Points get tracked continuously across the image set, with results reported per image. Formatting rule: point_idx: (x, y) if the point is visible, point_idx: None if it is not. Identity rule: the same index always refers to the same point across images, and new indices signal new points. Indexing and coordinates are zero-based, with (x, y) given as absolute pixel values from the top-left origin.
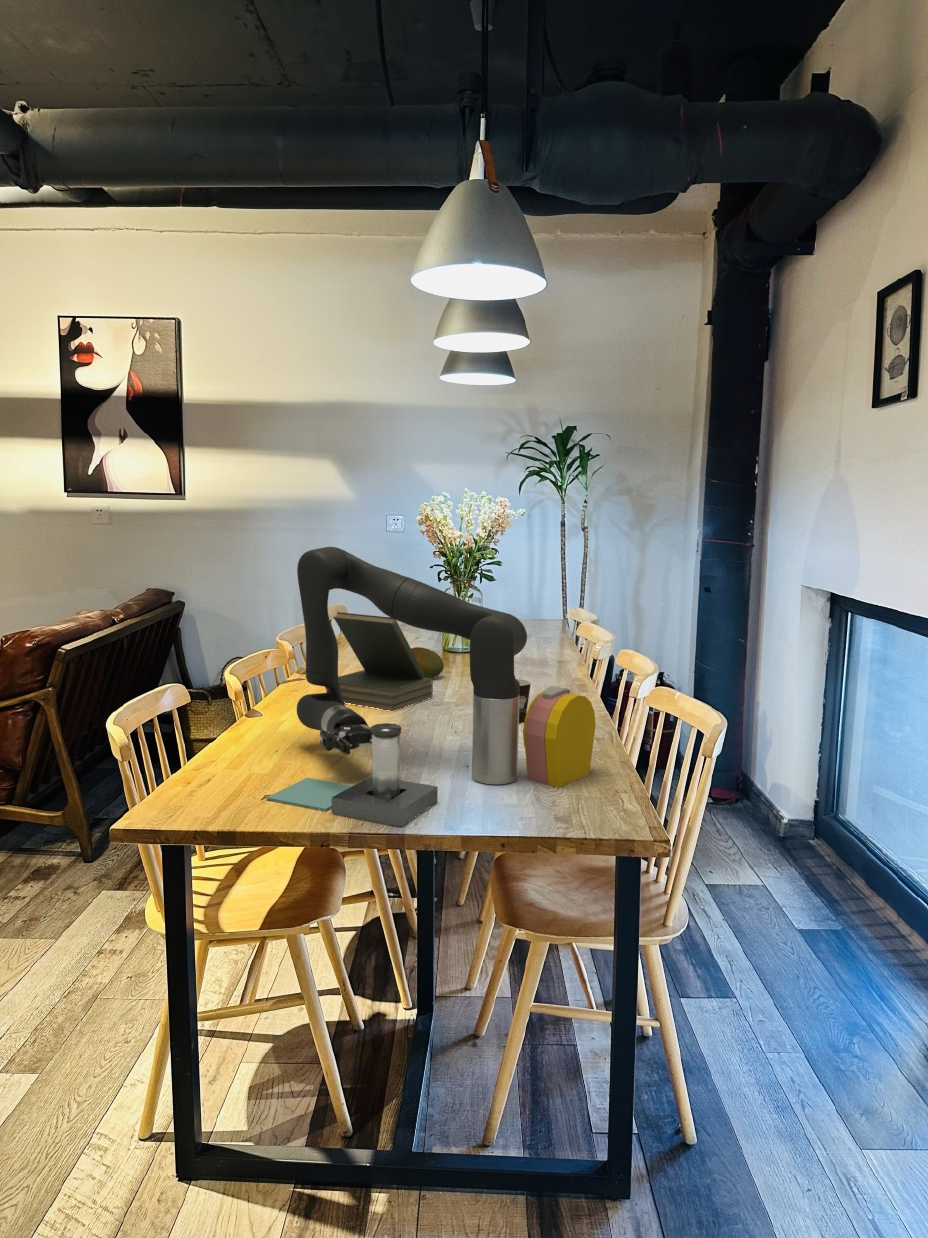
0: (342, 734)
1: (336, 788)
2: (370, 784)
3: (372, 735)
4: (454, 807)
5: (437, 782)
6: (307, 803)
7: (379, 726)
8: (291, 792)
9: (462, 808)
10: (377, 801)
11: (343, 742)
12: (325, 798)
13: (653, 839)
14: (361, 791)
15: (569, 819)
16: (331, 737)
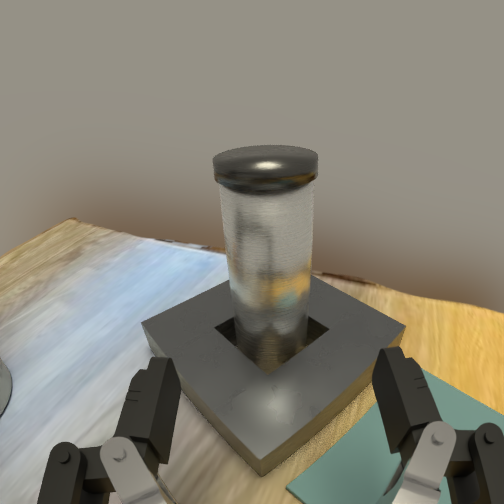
0: (418, 481)
1: (376, 495)
2: (293, 384)
3: (313, 180)
4: (142, 320)
5: None
6: (452, 395)
7: (285, 158)
8: None
9: (134, 312)
10: None
11: (411, 382)
12: None
13: (68, 219)
14: (332, 344)
15: (68, 254)
16: (477, 439)
